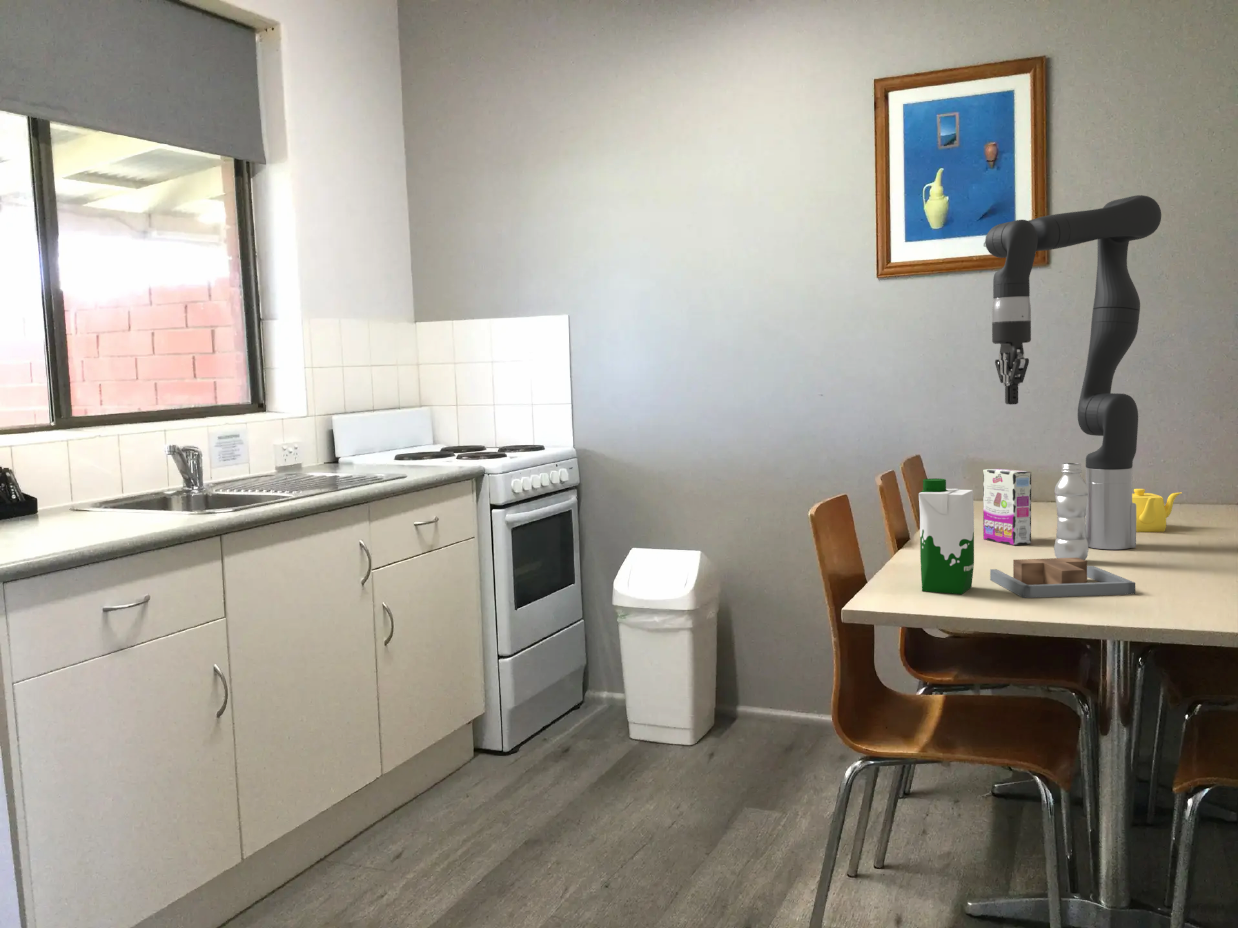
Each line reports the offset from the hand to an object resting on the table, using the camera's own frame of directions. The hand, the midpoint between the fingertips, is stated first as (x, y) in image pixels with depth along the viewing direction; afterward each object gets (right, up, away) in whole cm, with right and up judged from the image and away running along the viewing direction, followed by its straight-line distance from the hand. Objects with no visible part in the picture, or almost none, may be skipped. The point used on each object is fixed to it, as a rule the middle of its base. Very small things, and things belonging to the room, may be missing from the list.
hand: (1011, 404), depth 220 cm
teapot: (+43, -28, +34) cm, 61 cm away
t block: (-2, -35, -28) cm, 44 cm away
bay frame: (-2, -35, -28) cm, 45 cm away
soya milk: (-22, -35, -27) cm, 50 cm away
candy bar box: (+7, -30, +22) cm, 38 cm away
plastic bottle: (+10, -32, -5) cm, 34 cm away
